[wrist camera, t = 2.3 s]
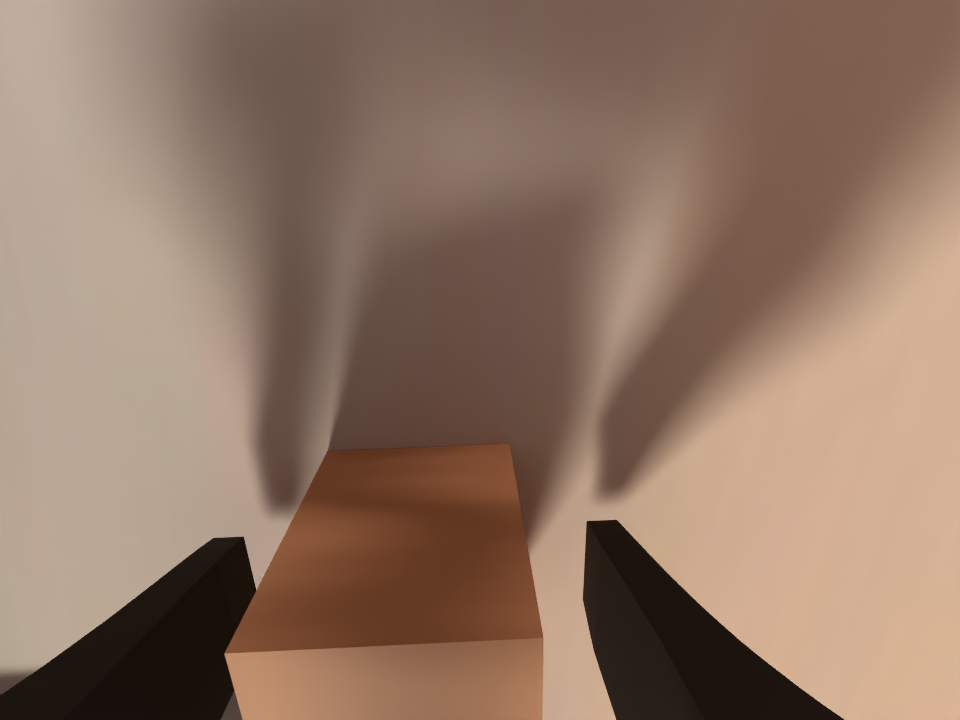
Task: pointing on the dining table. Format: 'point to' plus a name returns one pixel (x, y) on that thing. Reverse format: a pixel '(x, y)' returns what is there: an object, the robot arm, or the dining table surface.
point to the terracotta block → (397, 595)
